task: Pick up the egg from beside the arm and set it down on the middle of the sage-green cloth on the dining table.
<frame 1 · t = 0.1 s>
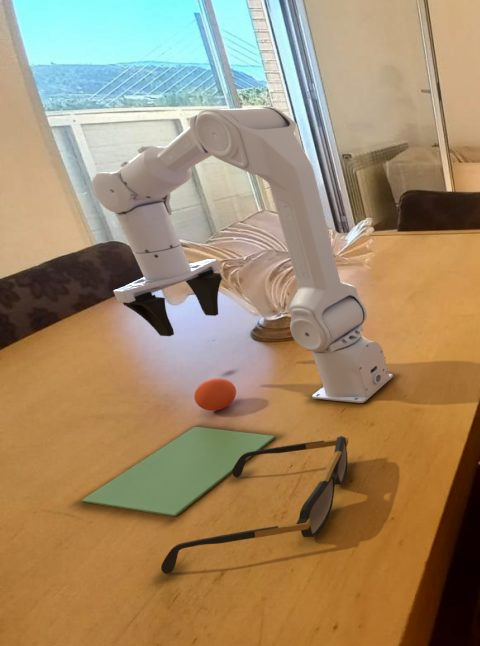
hand: (190, 324, 80), 10 cm above the table, tool pointing down, fingers open, 7 cm apart
egg: (215, 394, 74), point 2 cm above the table
sunglasses: (277, 509, 56), on the table
cloth: (186, 467, 63), on the table
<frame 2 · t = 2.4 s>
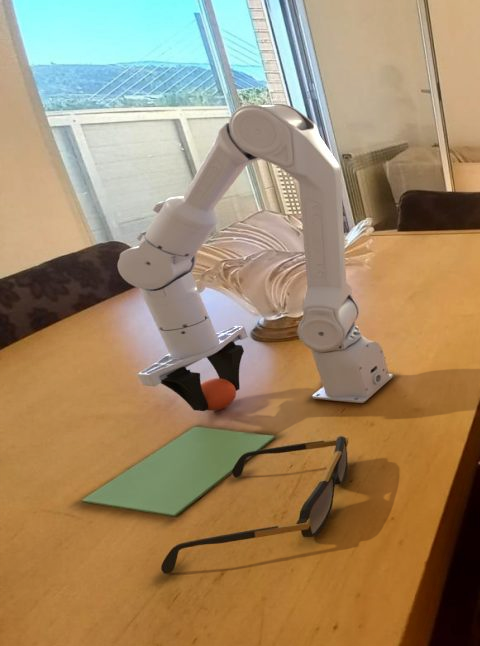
hand: (217, 398, 75), 2 cm above the table, tool pointing down, fingers closed on egg, 5 cm apart
egg: (215, 394, 74), point 2 cm above the table, touching gripper
everything else where it was.
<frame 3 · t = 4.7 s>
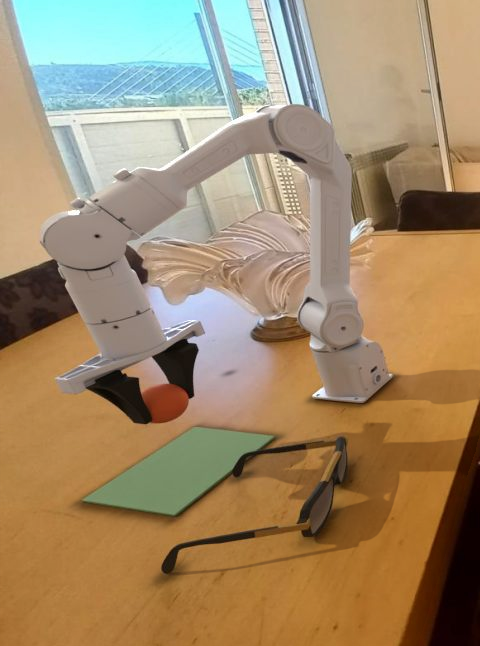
hand: (165, 408, 61), 8 cm above the table, tool pointing down, fingers closed on egg, 5 cm apart
egg: (162, 403, 61), point 9 cm above the table, touching gripper
everything else where it was.
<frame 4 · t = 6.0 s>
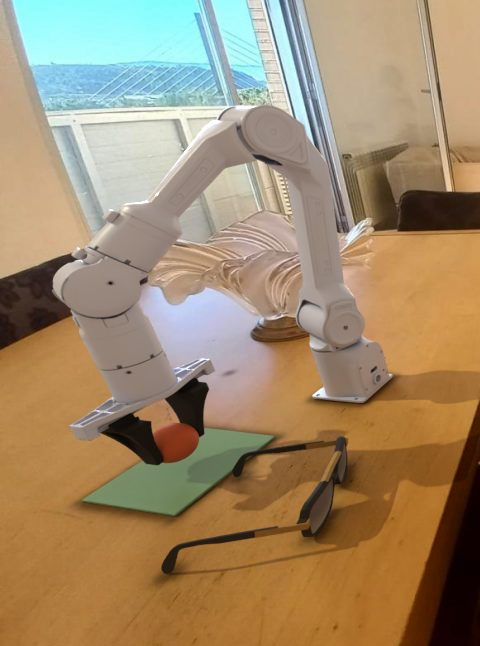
hand: (176, 448, 62), 3 cm above the table, tool pointing down, fingers closed on egg, 5 cm apart
egg: (173, 442, 61), point 4 cm above the table, touching gripper
everything else where it was.
when the fingers open (2 cm above the table, at t = 6.9 s): egg stays where it is, resting on cloth.
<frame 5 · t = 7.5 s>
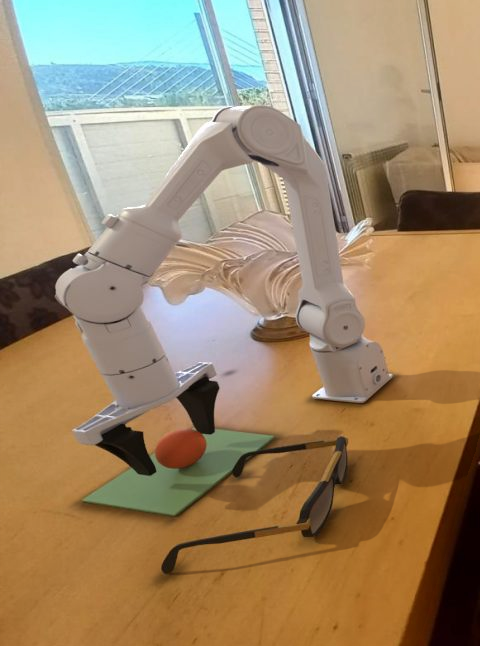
hand: (178, 451, 62), 3 cm above the table, tool pointing down, fingers open, 7 cm apart
egg: (181, 448, 62), point 3 cm above the table, tilted 11°, touching cloth
everything else where it was.
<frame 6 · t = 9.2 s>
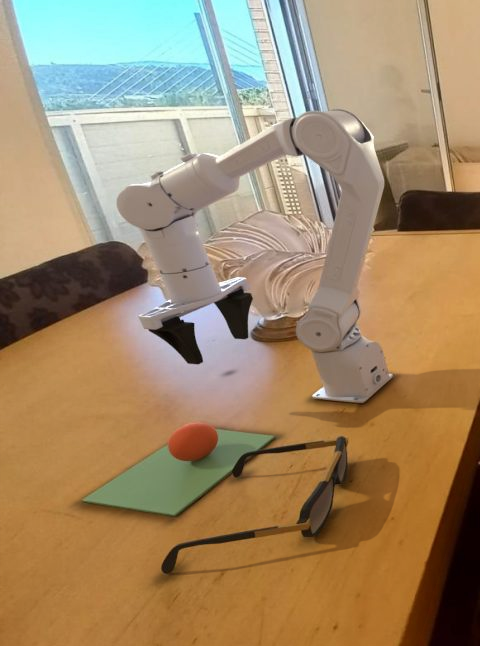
hand: (219, 349, 73), 9 cm above the table, tool pointing down, fingers open, 7 cm apart
egg: (193, 441, 63), point 3 cm above the table, tilted 43°, touching cloth
everything else where it was.
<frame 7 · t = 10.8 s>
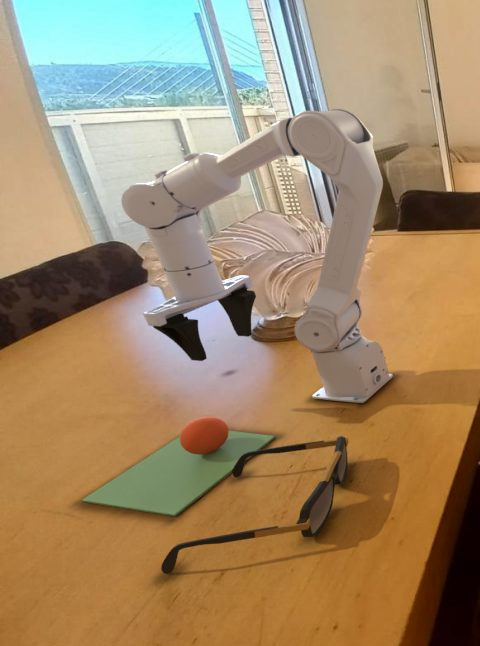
hand: (223, 346, 74), 9 cm above the table, tool pointing down, fingers open, 7 cm apart
egg: (204, 435, 65), point 3 cm above the table, tilted 74°, touching cloth
everything else where it was.
at the end: egg inside the target area on the cloth (3.1 cm from its centre), point 2.8 cm above the cloth's base; egg touching cloth; the gripper is holding nothing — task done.
